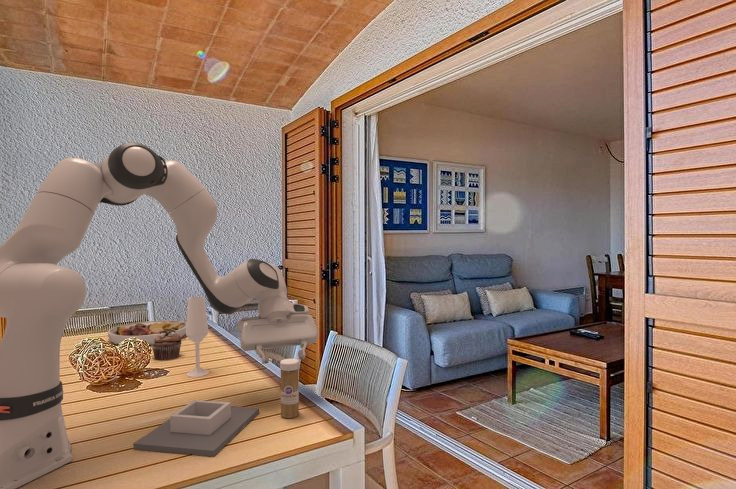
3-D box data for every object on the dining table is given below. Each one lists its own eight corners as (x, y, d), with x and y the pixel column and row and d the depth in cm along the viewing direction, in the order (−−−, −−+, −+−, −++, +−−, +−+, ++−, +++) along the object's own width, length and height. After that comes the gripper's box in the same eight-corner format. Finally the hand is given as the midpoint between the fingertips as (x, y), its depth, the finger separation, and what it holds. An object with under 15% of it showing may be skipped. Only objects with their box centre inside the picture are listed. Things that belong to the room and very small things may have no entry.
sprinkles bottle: (281, 420, 108) (281, 364, 108) (279, 412, 113) (279, 358, 112) (300, 417, 110) (300, 362, 109) (298, 410, 114) (297, 357, 114)
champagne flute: (186, 371, 146) (185, 296, 145) (208, 369, 148) (207, 295, 147) (186, 377, 140) (184, 299, 139) (209, 375, 142) (208, 298, 141)
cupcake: (177, 352, 169) (176, 325, 169) (184, 357, 162) (184, 329, 161) (149, 356, 163) (148, 328, 163) (155, 362, 156) (154, 333, 155)
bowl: (123, 333, 202) (122, 315, 202) (194, 330, 208) (193, 312, 207) (95, 350, 173) (95, 330, 173) (179, 346, 178) (179, 326, 178)
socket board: (213, 456, 91) (213, 433, 91) (133, 449, 94) (132, 426, 94) (259, 412, 113) (259, 394, 113) (192, 408, 116) (192, 389, 116)
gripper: (237, 311, 119) (243, 358, 110) (313, 305, 127) (324, 349, 118) (235, 325, 123) (241, 371, 114) (309, 318, 131) (319, 361, 122)
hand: (284, 360), depth 116 cm, fingers open, 8 cm apart
